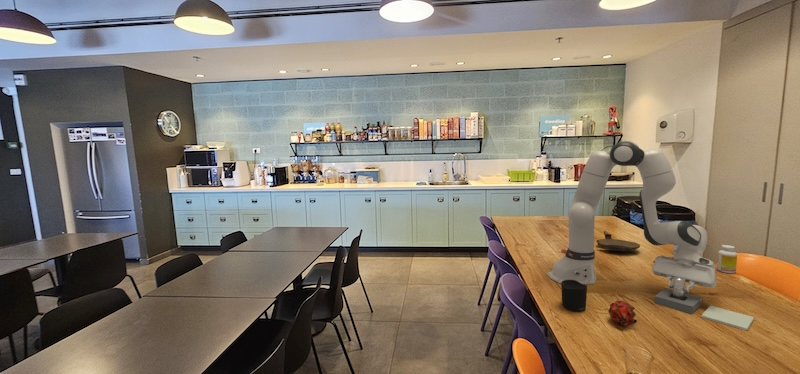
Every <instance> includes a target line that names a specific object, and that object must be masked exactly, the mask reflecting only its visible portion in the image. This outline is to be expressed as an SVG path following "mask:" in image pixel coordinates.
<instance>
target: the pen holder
mask: <svg viewBox="0 0 800 374" xmlns="http://www.w3.org/2000/svg"><path fill="white" fill-rule="evenodd" d="M560 284H561V305H562V307H563V309H565V310H567V311H570V312H574V313H581V312H584V311H586V307H587V294H588V284H581V283H580V282H578V281H576V280H564V281H562V282H561V283H560Z"/></svg>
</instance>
